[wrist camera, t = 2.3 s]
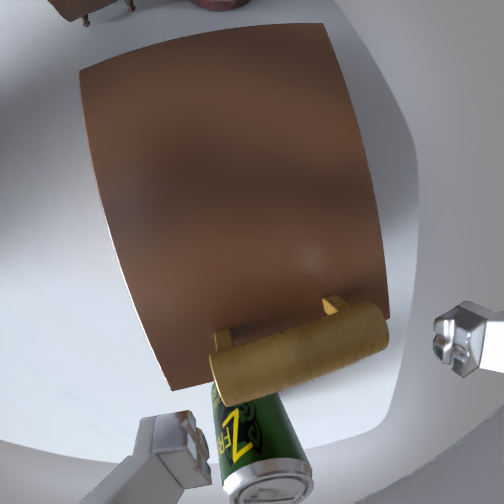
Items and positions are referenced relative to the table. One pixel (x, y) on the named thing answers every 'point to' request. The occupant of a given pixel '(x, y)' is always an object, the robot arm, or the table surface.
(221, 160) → the lid
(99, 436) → the table surface
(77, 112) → the table surface
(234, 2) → the can
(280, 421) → the beer can
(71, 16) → the alarm clock
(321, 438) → the table surface
